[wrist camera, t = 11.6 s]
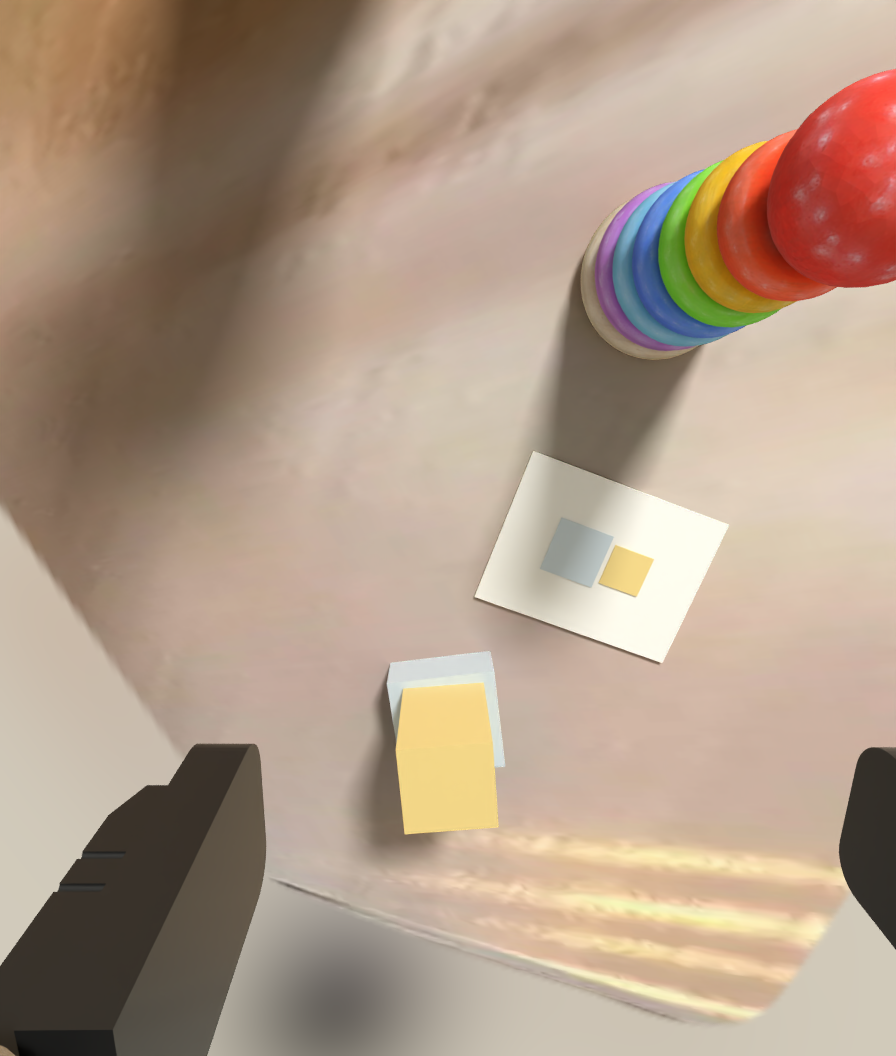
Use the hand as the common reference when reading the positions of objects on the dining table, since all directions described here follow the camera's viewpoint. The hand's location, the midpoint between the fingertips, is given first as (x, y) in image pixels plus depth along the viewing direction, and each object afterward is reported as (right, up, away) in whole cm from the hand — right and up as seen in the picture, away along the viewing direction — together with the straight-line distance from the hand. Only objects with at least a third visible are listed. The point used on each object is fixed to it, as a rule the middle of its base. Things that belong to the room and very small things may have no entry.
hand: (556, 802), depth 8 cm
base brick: (-2, -7, +30) cm, 30 cm away
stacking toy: (+9, +17, +24) cm, 31 cm away
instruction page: (+7, +2, +27) cm, 28 cm away
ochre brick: (-2, -7, +27) cm, 28 cm away
